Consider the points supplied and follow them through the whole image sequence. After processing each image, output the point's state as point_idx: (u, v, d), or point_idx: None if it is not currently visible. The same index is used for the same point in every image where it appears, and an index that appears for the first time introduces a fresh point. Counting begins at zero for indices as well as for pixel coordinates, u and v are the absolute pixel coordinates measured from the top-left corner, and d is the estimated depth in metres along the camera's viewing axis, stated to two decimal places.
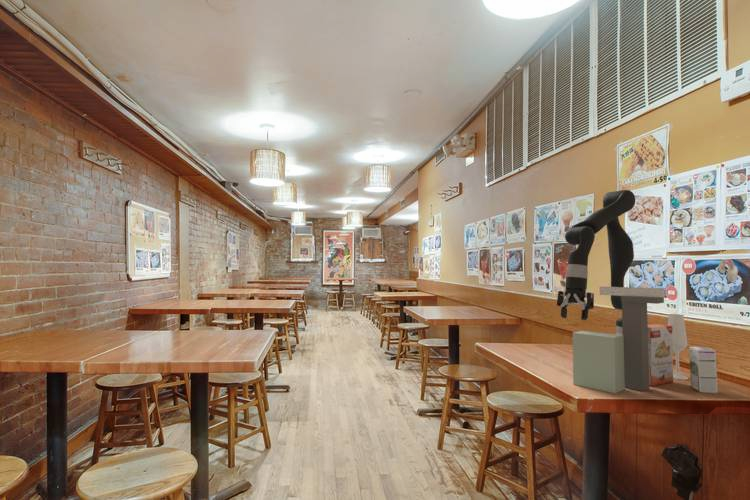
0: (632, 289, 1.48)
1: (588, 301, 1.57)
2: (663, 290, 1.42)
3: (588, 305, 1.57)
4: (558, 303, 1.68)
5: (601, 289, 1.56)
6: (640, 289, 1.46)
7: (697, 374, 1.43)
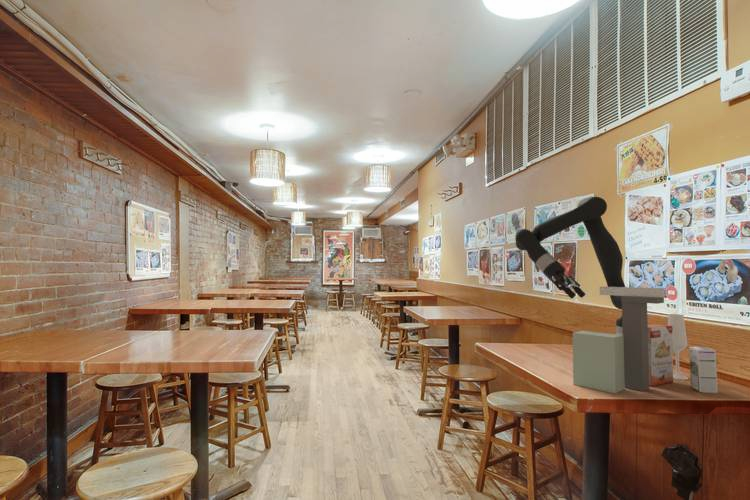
0: (632, 289, 1.48)
1: None
2: (663, 290, 1.42)
3: None
4: None
5: (601, 289, 1.56)
6: (640, 289, 1.46)
7: (697, 374, 1.43)
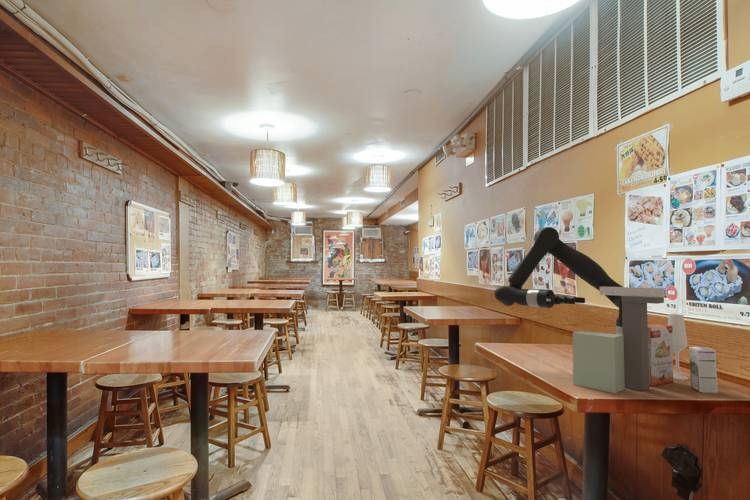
0: (632, 289, 1.48)
1: (554, 303, 1.64)
2: (663, 290, 1.42)
3: (557, 303, 1.63)
4: None
5: (601, 289, 1.56)
6: (640, 289, 1.46)
7: (697, 374, 1.43)
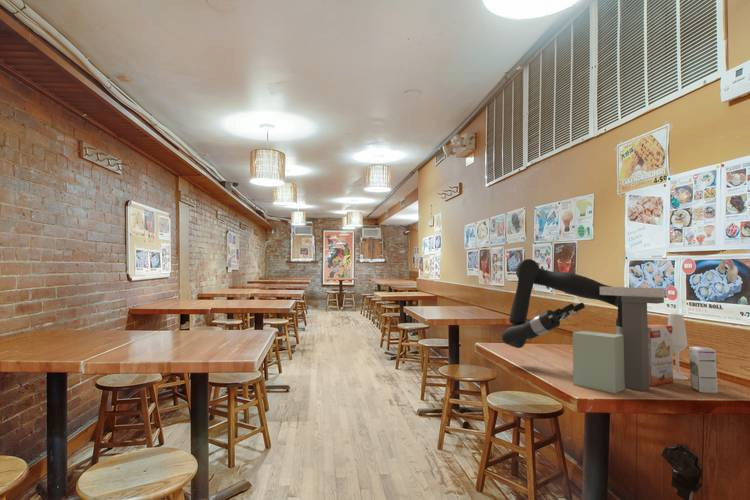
0: (632, 289, 1.48)
1: (557, 316, 1.63)
2: (663, 290, 1.42)
3: (560, 315, 1.62)
4: (575, 313, 1.71)
5: (601, 289, 1.56)
6: (640, 289, 1.46)
7: (697, 374, 1.43)
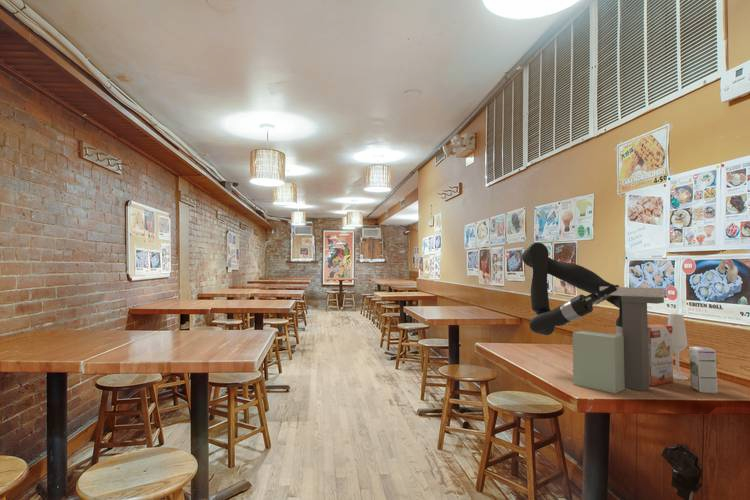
0: (632, 289, 1.48)
1: (596, 299, 1.54)
2: (663, 290, 1.42)
3: (600, 297, 1.54)
4: (610, 296, 1.59)
5: (601, 289, 1.56)
6: (640, 289, 1.46)
7: (697, 374, 1.43)
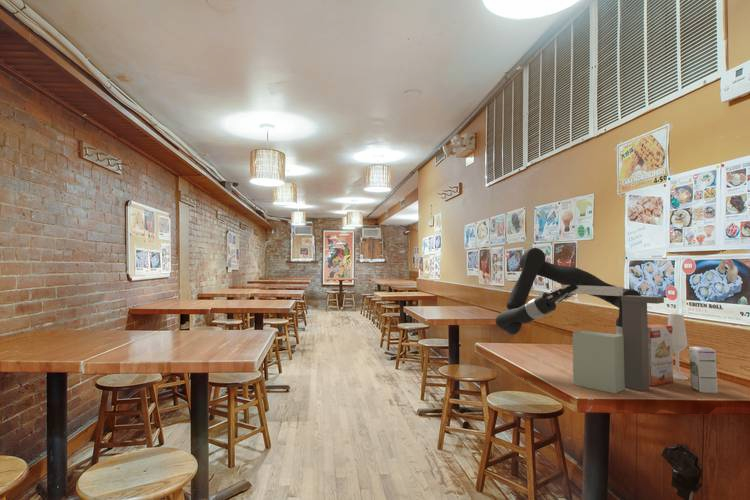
0: (591, 287, 1.50)
1: (558, 297, 1.56)
2: (621, 289, 1.44)
3: (561, 295, 1.56)
4: (572, 294, 1.61)
5: (563, 287, 1.58)
6: (599, 287, 1.48)
7: (697, 374, 1.43)
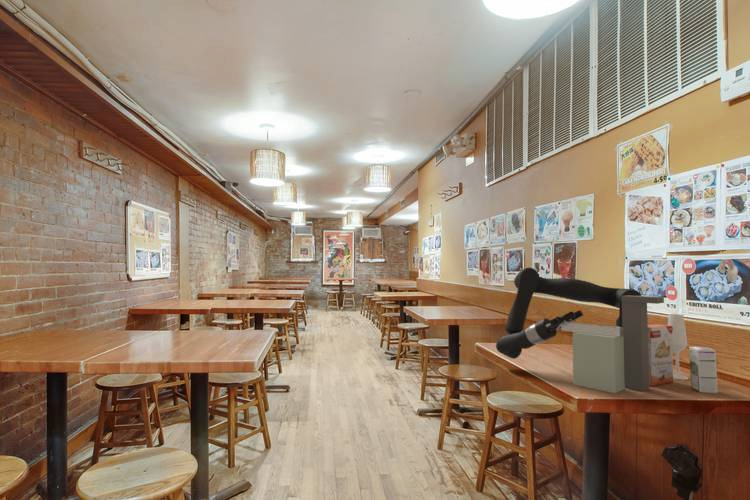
0: (592, 327, 1.50)
1: (556, 325, 1.55)
2: (621, 329, 1.44)
3: (559, 323, 1.54)
4: (573, 321, 1.61)
5: (563, 325, 1.57)
6: (599, 327, 1.48)
7: (697, 374, 1.43)
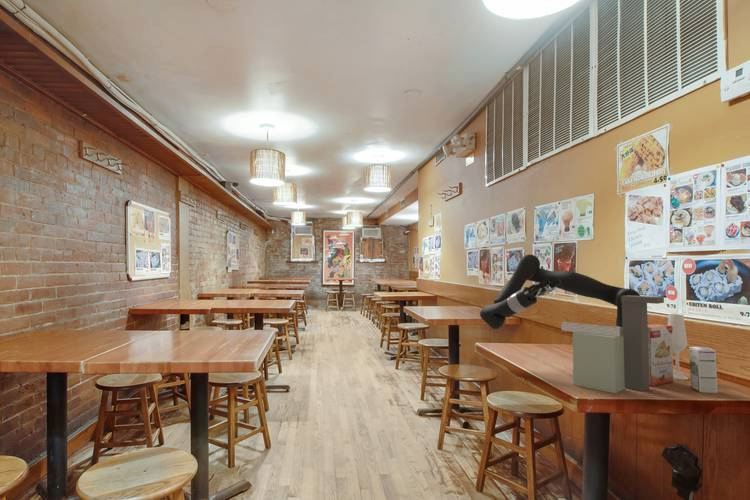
0: (592, 327, 1.50)
1: (532, 292, 1.62)
2: (621, 329, 1.44)
3: (535, 290, 1.61)
4: (552, 289, 1.69)
5: (563, 325, 1.57)
6: (599, 327, 1.48)
7: (697, 374, 1.43)
